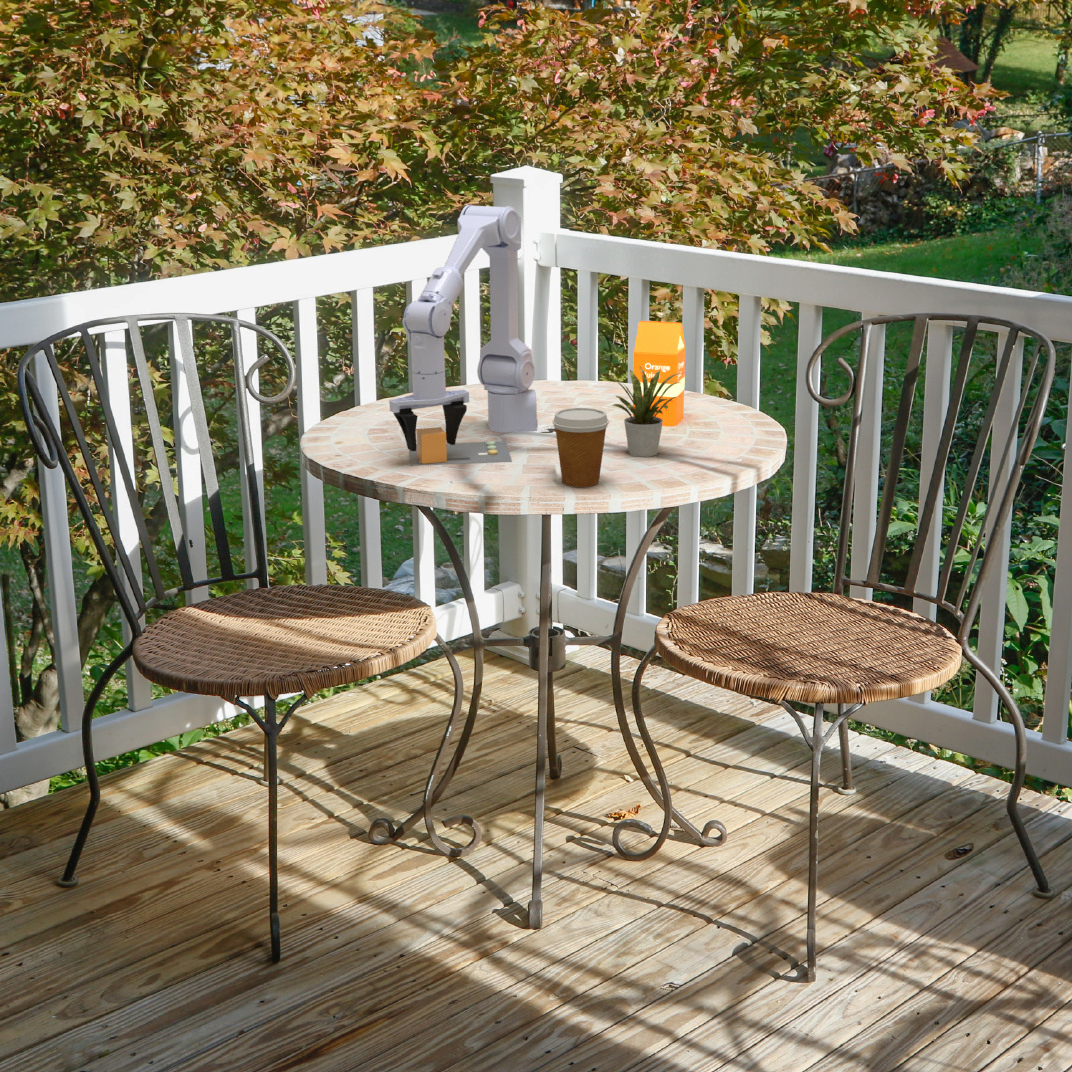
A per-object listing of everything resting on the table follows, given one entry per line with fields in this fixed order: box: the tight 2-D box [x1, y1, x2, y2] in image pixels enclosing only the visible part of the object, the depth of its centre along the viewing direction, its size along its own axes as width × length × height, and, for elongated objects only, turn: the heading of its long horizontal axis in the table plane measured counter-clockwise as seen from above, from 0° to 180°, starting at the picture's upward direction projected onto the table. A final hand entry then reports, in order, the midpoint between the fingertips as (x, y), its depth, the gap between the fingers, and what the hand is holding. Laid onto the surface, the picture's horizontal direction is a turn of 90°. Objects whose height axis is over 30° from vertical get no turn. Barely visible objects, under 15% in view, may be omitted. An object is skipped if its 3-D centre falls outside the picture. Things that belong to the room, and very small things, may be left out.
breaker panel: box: [408, 440, 513, 467], centre depth 236 cm, size 18×14×2 cm
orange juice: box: [632, 320, 686, 427], centre depth 260 cm, size 8×9×20 cm
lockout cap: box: [416, 426, 447, 464], centre depth 231 cm, size 4×4×5 cm
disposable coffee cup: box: [552, 407, 610, 488], centre depth 221 cm, size 10×10×12 cm
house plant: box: [606, 365, 683, 458], centre depth 237 cm, size 14×14×16 cm
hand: (431, 446), depth 231 cm, fingers open, 7 cm apart
